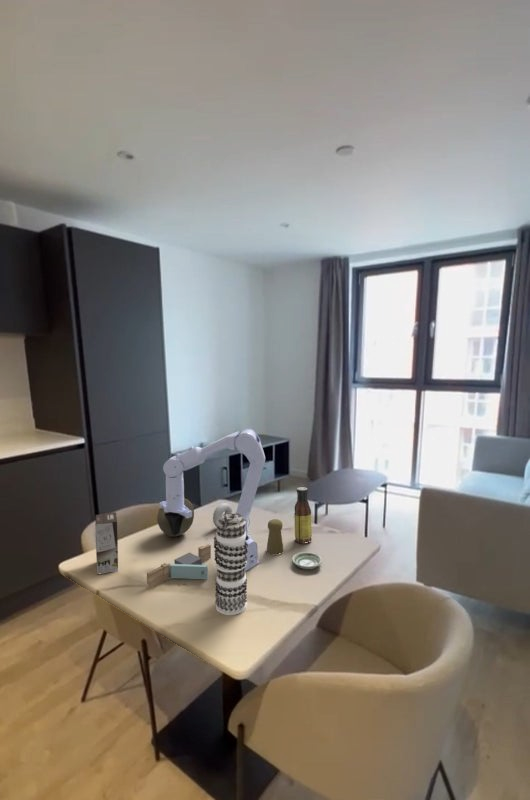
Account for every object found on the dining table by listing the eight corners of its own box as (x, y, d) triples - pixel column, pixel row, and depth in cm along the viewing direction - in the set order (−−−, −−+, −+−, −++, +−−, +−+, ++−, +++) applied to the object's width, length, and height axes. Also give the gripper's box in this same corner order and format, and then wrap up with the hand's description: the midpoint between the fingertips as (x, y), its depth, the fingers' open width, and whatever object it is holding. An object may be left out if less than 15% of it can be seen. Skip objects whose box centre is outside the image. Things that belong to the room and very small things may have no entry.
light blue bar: (206, 581, 116) (206, 567, 115) (166, 579, 117) (166, 566, 116) (207, 578, 118) (207, 564, 117) (168, 576, 118) (167, 563, 118)
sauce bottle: (314, 539, 144) (315, 487, 143) (306, 546, 139) (307, 492, 137) (298, 535, 148) (299, 484, 146) (291, 541, 143) (291, 489, 141)
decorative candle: (224, 592, 110) (223, 507, 108) (253, 599, 107) (253, 512, 105) (207, 610, 102) (206, 519, 100) (238, 619, 99) (238, 525, 96)
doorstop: (201, 570, 123) (201, 558, 122) (187, 578, 118) (186, 565, 118) (189, 564, 126) (189, 552, 126) (174, 571, 122) (174, 559, 121)
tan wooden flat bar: (211, 558, 130) (211, 544, 130) (149, 589, 112) (149, 573, 111) (207, 556, 131) (207, 543, 131) (146, 587, 113) (146, 571, 112)
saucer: (299, 555, 132) (299, 549, 132) (326, 563, 127) (326, 556, 127) (286, 568, 124) (286, 561, 124) (314, 576, 119) (314, 569, 119)
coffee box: (118, 571, 122) (117, 521, 120) (96, 575, 119) (94, 524, 118) (117, 557, 130) (116, 511, 129) (97, 561, 128) (95, 514, 126)
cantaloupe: (150, 535, 147) (149, 497, 146) (183, 525, 157) (182, 489, 155) (168, 548, 137) (167, 507, 135) (202, 536, 146) (201, 498, 145)
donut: (217, 532, 150) (216, 507, 149) (210, 530, 152) (210, 505, 151) (234, 524, 158) (234, 501, 157) (228, 522, 160) (228, 499, 159)
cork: (278, 556, 131) (278, 525, 130) (263, 552, 134) (263, 521, 134) (286, 549, 136) (286, 519, 135) (271, 545, 140) (272, 515, 139)
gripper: (151, 492, 128) (152, 531, 129) (179, 501, 118) (180, 544, 120) (168, 486, 133) (169, 524, 134) (196, 495, 124) (197, 536, 125)
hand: (175, 533), depth 127 cm, fingers closed
